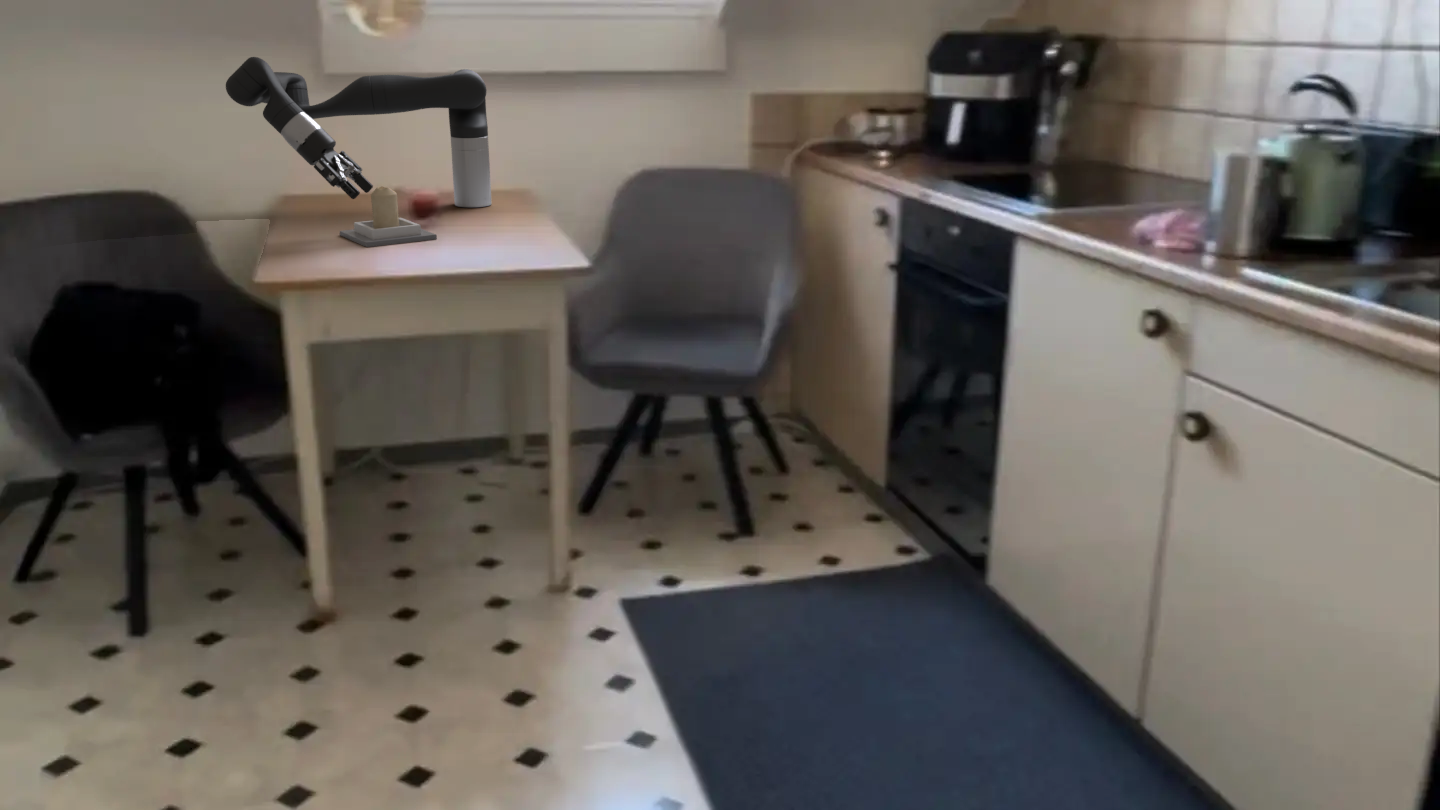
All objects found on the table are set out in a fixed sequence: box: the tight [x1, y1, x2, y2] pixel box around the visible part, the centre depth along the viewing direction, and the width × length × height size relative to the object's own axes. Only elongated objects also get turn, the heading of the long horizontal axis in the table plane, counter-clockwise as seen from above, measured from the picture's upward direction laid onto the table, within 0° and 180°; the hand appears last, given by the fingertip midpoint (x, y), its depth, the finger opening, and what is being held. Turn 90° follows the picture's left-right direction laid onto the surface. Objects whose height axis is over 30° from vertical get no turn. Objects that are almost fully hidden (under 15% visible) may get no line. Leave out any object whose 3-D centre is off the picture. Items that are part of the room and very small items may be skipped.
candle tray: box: [339, 217, 438, 248], centre depth 275 cm, size 16×16×3 cm
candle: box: [370, 186, 400, 229], centre depth 273 cm, size 6×6×10 cm
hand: (363, 193), depth 272 cm, fingers open, 8 cm apart
